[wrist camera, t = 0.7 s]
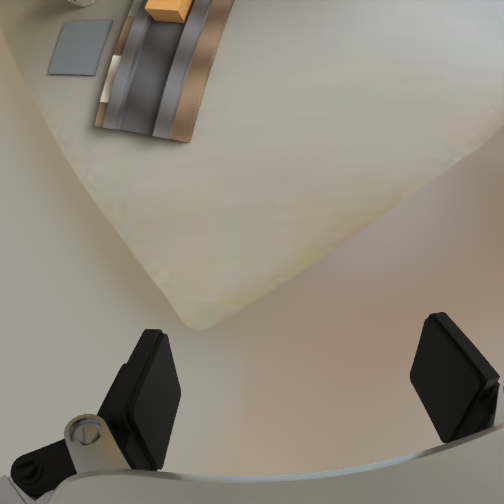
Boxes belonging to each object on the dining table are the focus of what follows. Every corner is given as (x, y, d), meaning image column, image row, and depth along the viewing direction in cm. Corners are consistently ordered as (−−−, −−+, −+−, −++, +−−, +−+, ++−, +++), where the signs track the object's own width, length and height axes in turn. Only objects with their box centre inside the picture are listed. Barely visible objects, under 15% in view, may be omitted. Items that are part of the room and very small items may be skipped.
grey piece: (146, -13, 27) (138, -23, 24) (236, -5, 28) (234, -17, 25) (101, 126, 33) (88, 125, 30) (190, 142, 34) (183, 142, 31)
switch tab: (166, -6, 26) (156, -20, 22) (195, -4, 26) (189, -19, 22) (155, 20, 27) (144, 8, 23) (185, 23, 27) (177, 10, 24)
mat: (66, 23, 28) (64, 22, 27) (113, 21, 29) (111, 19, 28) (50, 74, 30) (47, 73, 30) (94, 75, 31) (92, 75, 31)
